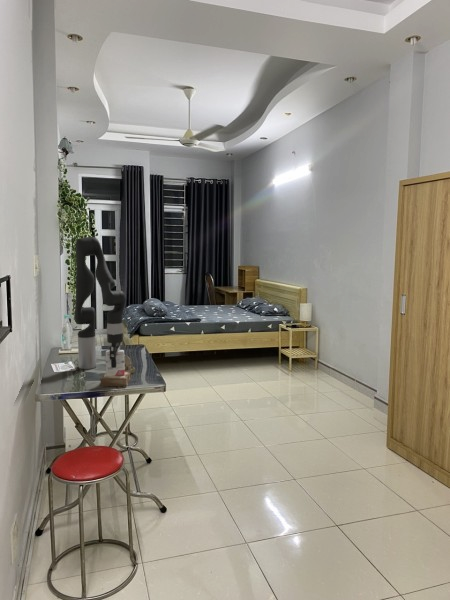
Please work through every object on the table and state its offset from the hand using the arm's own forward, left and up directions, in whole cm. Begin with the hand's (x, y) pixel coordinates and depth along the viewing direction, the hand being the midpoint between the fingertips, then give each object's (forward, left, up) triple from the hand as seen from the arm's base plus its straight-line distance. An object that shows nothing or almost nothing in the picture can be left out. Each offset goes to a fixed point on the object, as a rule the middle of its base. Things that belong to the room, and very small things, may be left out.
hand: (115, 365), depth 224 cm
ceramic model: (-20, -1, -9) cm, 22 cm away
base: (0, 0, -9) cm, 9 cm away
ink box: (0, 0, -5) cm, 5 cm away
